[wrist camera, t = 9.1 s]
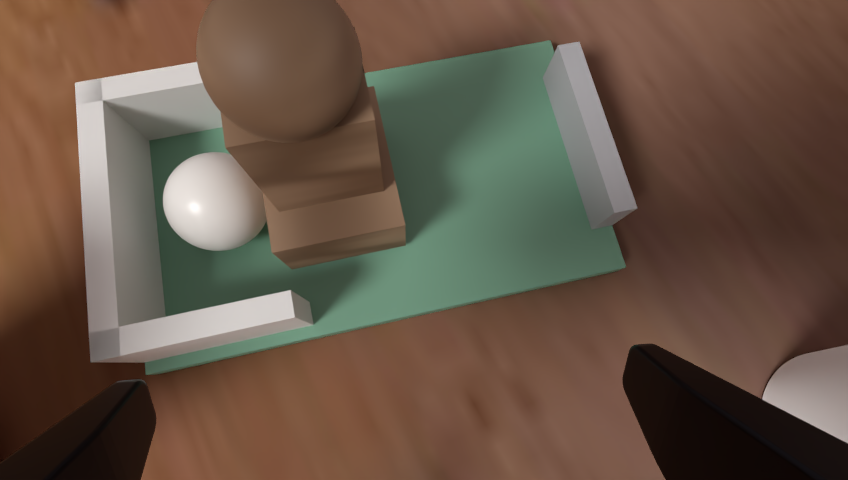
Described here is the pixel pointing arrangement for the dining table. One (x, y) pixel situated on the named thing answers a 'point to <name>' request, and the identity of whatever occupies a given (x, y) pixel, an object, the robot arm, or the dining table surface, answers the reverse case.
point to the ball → (213, 202)
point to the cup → (814, 389)
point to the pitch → (364, 274)
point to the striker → (302, 125)
